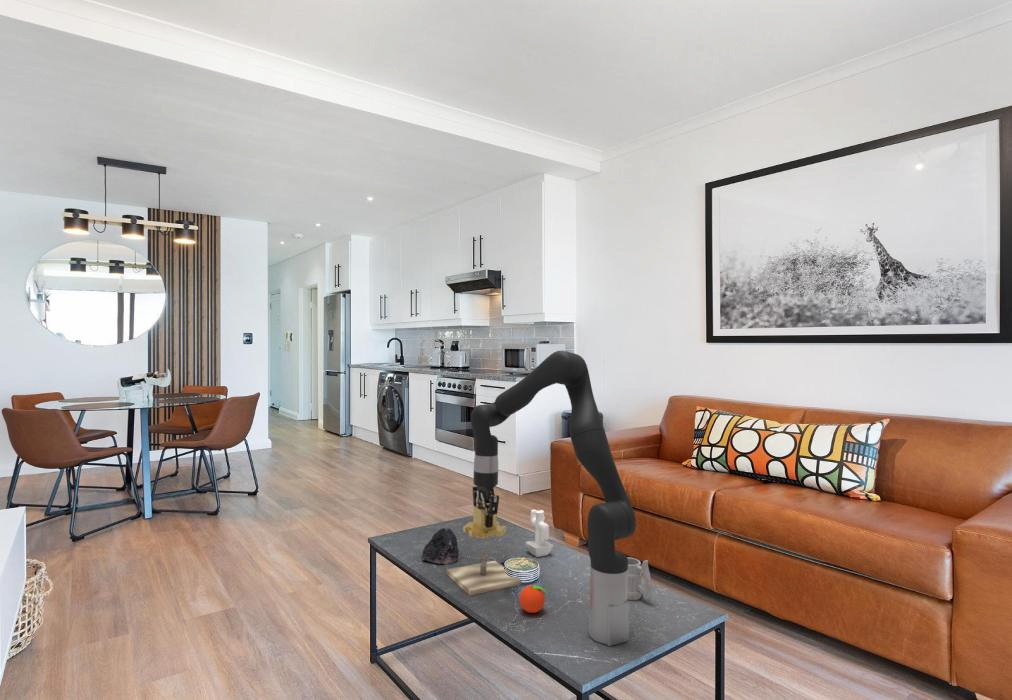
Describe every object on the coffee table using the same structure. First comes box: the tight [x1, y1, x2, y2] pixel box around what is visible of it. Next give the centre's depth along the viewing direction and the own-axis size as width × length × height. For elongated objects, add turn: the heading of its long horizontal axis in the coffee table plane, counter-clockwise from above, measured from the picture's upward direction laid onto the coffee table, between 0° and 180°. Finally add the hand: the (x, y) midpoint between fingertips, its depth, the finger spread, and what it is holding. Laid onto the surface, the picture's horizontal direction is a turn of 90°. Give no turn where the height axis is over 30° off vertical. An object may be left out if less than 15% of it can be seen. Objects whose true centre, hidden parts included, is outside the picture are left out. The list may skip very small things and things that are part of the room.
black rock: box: [421, 527, 460, 565], centre depth 192 cm, size 13×14×10 cm
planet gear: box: [462, 503, 507, 540], centre depth 175 cm, size 12×12×8 cm
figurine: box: [524, 509, 554, 558], centre depth 198 cm, size 7×9×15 cm
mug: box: [627, 557, 653, 601], centre depth 165 cm, size 8×12×12 cm, turn 37°
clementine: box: [519, 584, 549, 614], centre depth 155 cm, size 8×7×7 cm
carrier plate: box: [446, 553, 522, 596], centre depth 175 cm, size 17×17×8 cm
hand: (484, 524), depth 175 cm, fingers closed on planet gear, 5 cm apart
